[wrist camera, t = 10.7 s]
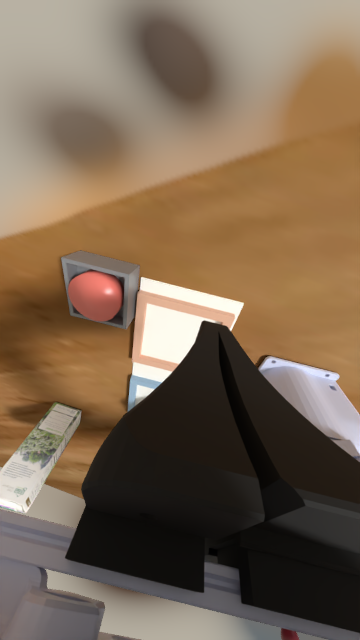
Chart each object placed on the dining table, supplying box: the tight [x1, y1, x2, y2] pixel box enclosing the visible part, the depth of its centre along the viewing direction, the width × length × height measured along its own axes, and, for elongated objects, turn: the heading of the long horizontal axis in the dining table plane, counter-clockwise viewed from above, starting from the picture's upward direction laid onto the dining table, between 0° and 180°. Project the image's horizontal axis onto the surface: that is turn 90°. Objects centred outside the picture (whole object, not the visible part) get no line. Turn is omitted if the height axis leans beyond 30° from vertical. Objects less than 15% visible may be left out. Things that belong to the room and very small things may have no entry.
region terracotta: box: [132, 290, 235, 372], centre depth 23 cm, size 11×11×1 cm
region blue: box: [128, 375, 162, 411], centre depth 31 cm, size 11×11×1 cm
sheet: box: [132, 277, 244, 406], centre depth 27 cm, size 12×29×1 cm, turn 168°
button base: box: [61, 251, 140, 329], centre depth 19 cm, size 6×6×3 cm
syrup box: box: [0, 402, 81, 514], centre depth 32 cm, size 6×6×14 cm
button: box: [68, 269, 124, 321], centre depth 18 cm, size 5×5×2 cm
